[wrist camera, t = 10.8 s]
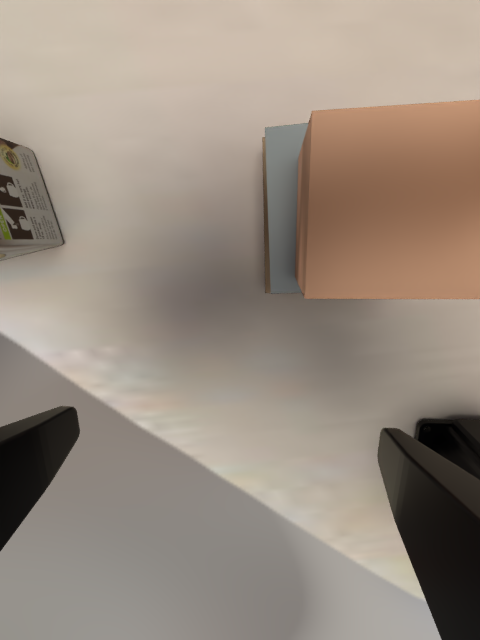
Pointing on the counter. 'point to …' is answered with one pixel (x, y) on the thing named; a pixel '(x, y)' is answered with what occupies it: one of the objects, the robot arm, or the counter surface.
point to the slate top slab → (283, 203)
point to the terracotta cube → (390, 203)
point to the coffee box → (24, 204)
